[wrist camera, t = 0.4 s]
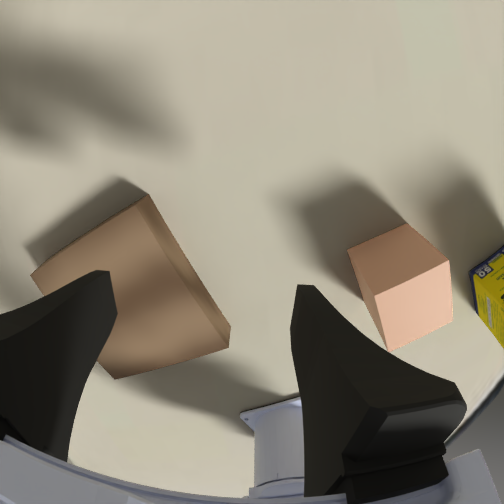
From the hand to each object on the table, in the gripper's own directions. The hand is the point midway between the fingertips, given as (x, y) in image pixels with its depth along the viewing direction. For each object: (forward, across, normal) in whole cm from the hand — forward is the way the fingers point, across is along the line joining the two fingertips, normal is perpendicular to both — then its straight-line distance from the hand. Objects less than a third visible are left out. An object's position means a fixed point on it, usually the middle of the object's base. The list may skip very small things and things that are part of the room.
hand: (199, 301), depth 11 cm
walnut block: (+10, +7, +7) cm, 14 cm away
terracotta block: (+10, -12, +3) cm, 16 cm away
